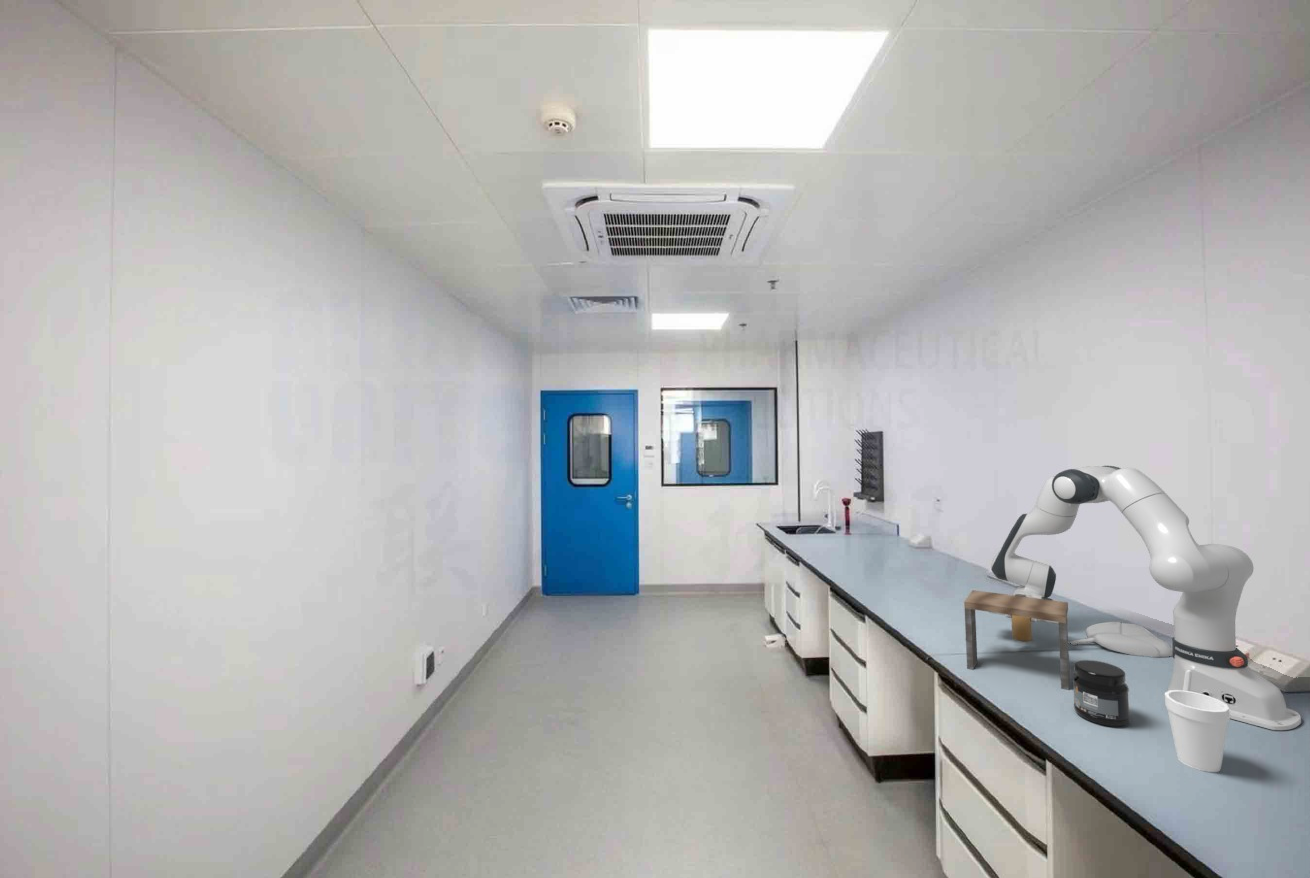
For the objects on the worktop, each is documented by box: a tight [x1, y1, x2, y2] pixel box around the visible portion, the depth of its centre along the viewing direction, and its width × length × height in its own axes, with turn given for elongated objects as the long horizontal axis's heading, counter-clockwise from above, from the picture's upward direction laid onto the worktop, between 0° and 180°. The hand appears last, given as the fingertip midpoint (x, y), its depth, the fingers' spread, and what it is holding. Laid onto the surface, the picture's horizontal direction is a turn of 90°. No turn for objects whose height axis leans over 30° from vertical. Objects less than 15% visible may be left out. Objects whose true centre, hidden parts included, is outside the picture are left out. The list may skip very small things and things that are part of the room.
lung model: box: [1068, 621, 1173, 658], centre depth 171 cm, size 7×17×25 cm
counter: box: [963, 589, 1071, 691], centre depth 157 cm, size 24×14×20 cm, turn 50°
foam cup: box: [1164, 690, 1231, 773], centre depth 111 cm, size 10×9×13 cm
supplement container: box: [1072, 659, 1131, 727], centre depth 130 cm, size 10×10×12 cm
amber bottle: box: [1011, 594, 1033, 643], centre depth 169 cm, size 5×5×14 cm
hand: (1021, 617), depth 168 cm, fingers closed on amber bottle, 5 cm apart
